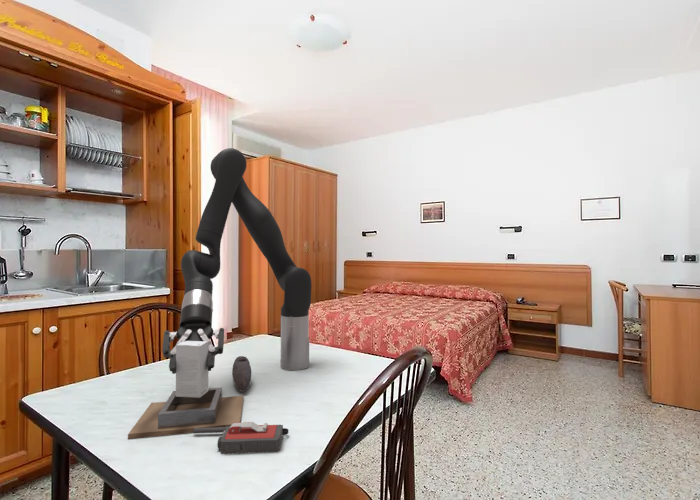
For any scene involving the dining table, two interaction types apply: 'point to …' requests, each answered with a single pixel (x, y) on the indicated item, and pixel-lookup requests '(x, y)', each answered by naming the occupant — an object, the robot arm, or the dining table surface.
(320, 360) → the dining table surface
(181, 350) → the skincare box
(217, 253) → the robot arm
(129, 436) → the board
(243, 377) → the perforated stone tool
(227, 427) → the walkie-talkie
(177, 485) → the dining table surface
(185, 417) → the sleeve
